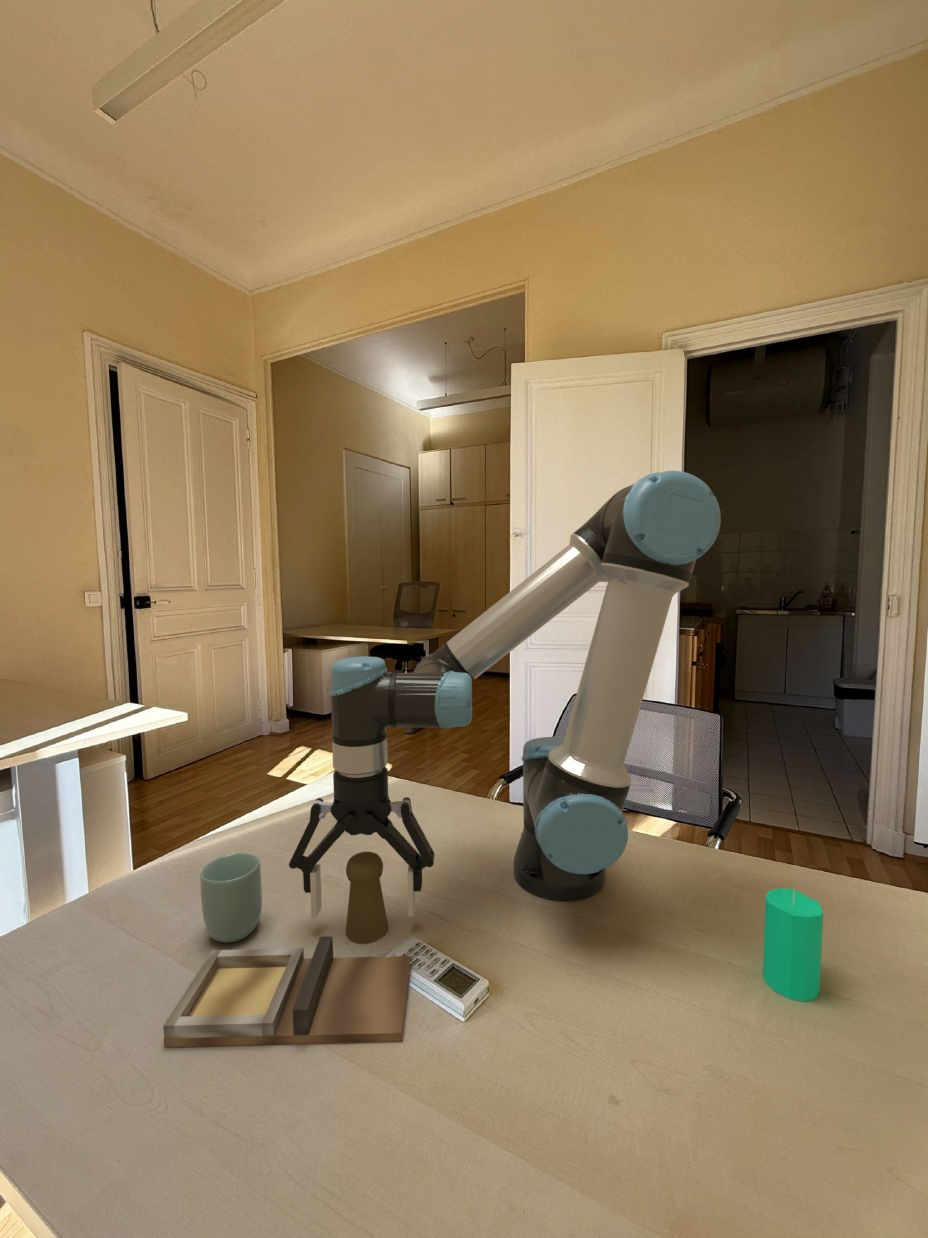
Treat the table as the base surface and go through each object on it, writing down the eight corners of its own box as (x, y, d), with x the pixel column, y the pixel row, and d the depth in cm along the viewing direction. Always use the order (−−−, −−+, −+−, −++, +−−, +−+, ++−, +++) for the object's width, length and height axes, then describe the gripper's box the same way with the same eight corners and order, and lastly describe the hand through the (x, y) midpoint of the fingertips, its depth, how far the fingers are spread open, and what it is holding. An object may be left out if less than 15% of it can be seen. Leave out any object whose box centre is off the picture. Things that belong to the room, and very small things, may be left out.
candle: (800, 1009, 64) (804, 911, 62) (752, 975, 69) (755, 884, 68) (830, 990, 66) (834, 895, 65) (781, 959, 72) (785, 871, 71)
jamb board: (411, 963, 72) (410, 934, 72) (401, 1041, 60) (400, 1007, 60) (213, 968, 72) (211, 939, 72) (164, 1047, 60) (161, 1013, 60)
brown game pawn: (337, 938, 78) (333, 863, 77) (360, 912, 83) (357, 843, 82) (374, 948, 75) (371, 871, 74) (395, 921, 81) (393, 850, 80)
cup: (243, 955, 75) (238, 884, 74) (192, 948, 76) (187, 879, 75) (273, 919, 82) (270, 854, 81) (227, 913, 84) (223, 850, 83)
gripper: (450, 758, 81) (451, 895, 83) (279, 759, 81) (285, 897, 83) (449, 777, 73) (450, 927, 75) (261, 779, 73) (267, 929, 75)
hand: (364, 912), depth 79 cm, fingers open, 13 cm apart
